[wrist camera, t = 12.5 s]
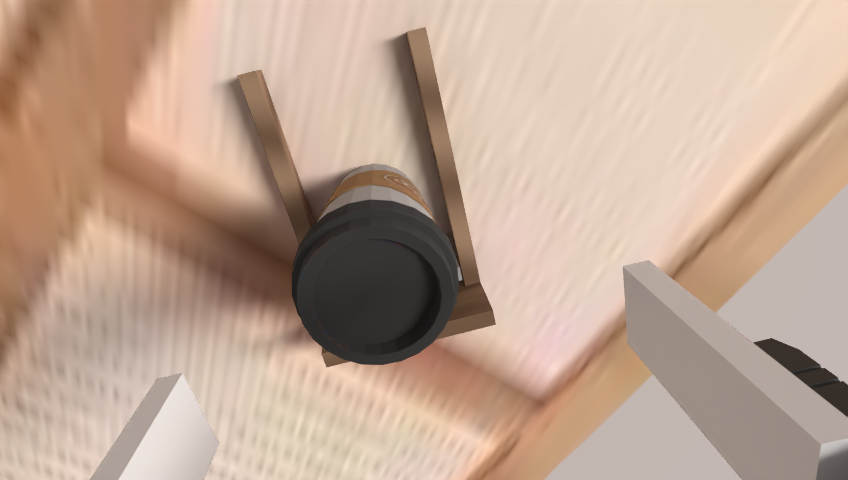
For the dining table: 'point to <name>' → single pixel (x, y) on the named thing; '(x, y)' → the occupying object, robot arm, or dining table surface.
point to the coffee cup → (375, 270)
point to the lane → (471, 296)
